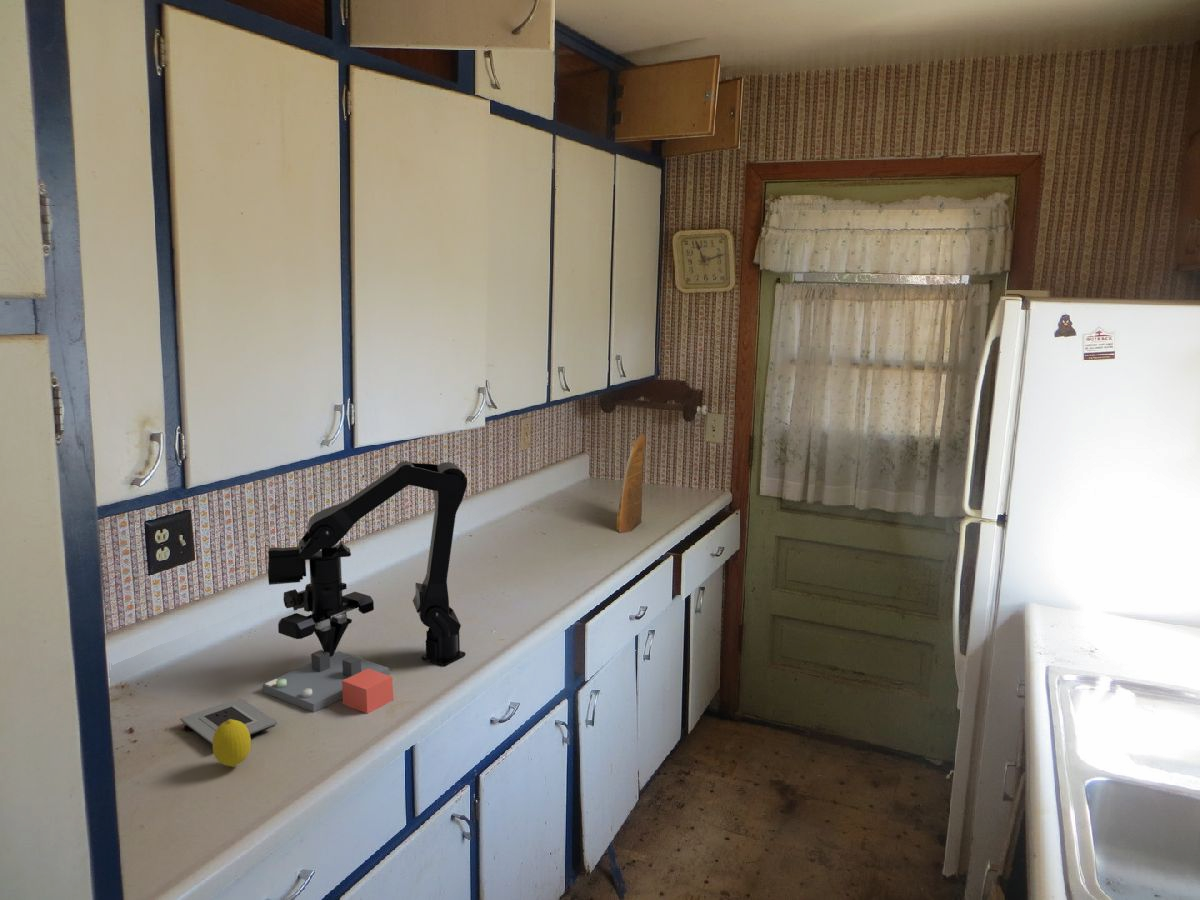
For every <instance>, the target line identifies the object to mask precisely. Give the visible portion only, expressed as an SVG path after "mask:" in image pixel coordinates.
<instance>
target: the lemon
mask: <svg viewBox="0 0 1200 900" xmlns="http://www.w3.org/2000/svg"><path fill="white" fill-rule="evenodd" d="M251 746H252V739H251V736H250V734H249V731H248V728H247V727H246V726H245V724H243V723H242V722H240V721H237V720H232V719H229V720H228V721H226V722H224V723H222V724H221V725H220V726H219V727H218V728H217V729H216V731H215V733H214V737H213V745H212V752H213V755H214V757H215V759H216V760H217V761H218V763H220V764H221V765H223V766H226V767H227V766H229V767H230V768H235V767H237V765H239V764H241V763H242V762H244V761H245V760H246V758H247V757H248V755H249V754H250V752H251V751H250V750H251Z"/></svg>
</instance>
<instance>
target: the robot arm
mask: <svg viewBox="0 0 1200 900" xmlns="http://www.w3.org/2000/svg"><path fill="white" fill-rule="evenodd" d="M408 486H413V487H418V488H422V489H426V490H430V491H433V492H432V493H433V501H434V502H433V503H434V514H433V522H432V530H431V538H430V544H429V551H428V552H429V553H428V558H427V559H428V561H427V568H426V574H425V578H424V579H423V582H422V583H419V582H415V584H414V585H415V588H414V589H415V595H414V597H413V599H412V603H413V606H414V609H415V611H416V613H417V614H418V616H419V619H420V622H421V623H422V624H423V625H424V626H426V627H428V629H427V630H426V634H425V635H426V639H425V654H424V653H423V654H422V655H421V657H420V658H421V659H422V660H425V661H428V662H431V663H434V664H438V665H440V666H444V667H445V666H448V665H449V663H450V664H451V663H454V662H455V661H457V660H459V659H461V658H463V657H465V656H466V652H465V651H462V650H461V649H460V646H461V645H460V642H461V641H460V629H461V627H462V624H461V623H460V621H459V618H458V617H457V615H456V613H455V610H454V609H453V608H452V607H450V597H449V589H448V574H449V568H450V567H449V566H450V560H451V552H452V544H453V537H454V528H455V524H456V516H457V512H458V510H459V509H460V506H461V505H462V502H463V501H464V500H463V499H464V496H465V493H466V490H467V486H468V478H467V476H466V474H465V473H464V472H463V471H462V469H461V468H460V467H459V466H458V465H457V464H456V463H454V462H451V461H444V462H442V463H440V464H436V463H429V462H428V463H427V462H426V463H424V462H411V461H409V460H404V461H403V460H402V461H400V462H397V464H396V466H394V467H393V468H392V469H390V470H389V471H387V472H386V473H385V474H383V475H381V476H380V477H379V478H377V479H375V480H374V481H373V482H371V483H370V484H368V485H367V486H366V487H365V488H363V489H362V490H360V491H358V492H357V493H356V494H354V495H353V496H350V498H349V499H347V500H345V501H343V502H340V503H337V504H335V505H331V506H329V507H327V508H325V509H322V510H320V511H318V512H316V513H314V514H313V515H312V516H311V517H309V520H308V523H307V531H306V532H305V533H304V535H303V536H302V538H301V539H300V540H299V542H298V544H297V545H298V546H291V547H269V548H268V551H267V552H268V555H267V556H268V564H267V575H268V576H267V577H268V579H267V580H268V586H269V585H270V586H272V585H274V586H275V585H284V584H295V583H301V580H304V577H307V566H306V565H307V564H306V563H307V562H306V561H309V562H308V563H309V580H310V581H309V582H310V583H308V584H305V589H303V590H301V591H297V589H291V590H287V591H285V592H283V604H284V607H285V608H286V609H291V608H293V611H297V610H299V609H303V611H304V612H308V613H309V612H311V614H308V615H304V614H301V613H298V612H295V613H292V614H290V615H287V616H284V617H282V618H281V619H280V620H279V621H278V623H277V625H278V626H277V628H278V633H279V634H281V635H284V636H286V637H290V638H292V639H295V640H302V639H303V638H307V637H309V636H312V635H313V634H315V636H316V638H317V639H318V641H319V643H320V644H321V647H322V650H323V651H326V652H329V653H330V657H332V656H333V655H334V653H336V651H337V648H338V646H339V644H340V642H341V639H342V637H343V635H344V634H345V632H346V630H347V629H348V627H349V625H350V624H351V623H352V622H353V619H351V618H348V615H347V613H348V612H350V611H352V610H356V609H358V612H360V614H363V615H365V614H369V613H370V612H373V611H374V610H375V608H374V607H375V606H374V605H375V604H374V599H373V598H372V597H371V595H368V594H365V593H362V592H357V591H352V592H350V593H346V594H345V595H343V591H345V590H347V589H348V588H347V583H345V582H343V580H342V579H343V578H342V576H343V575H342V558H346V557H351V555H352V553H351V548H350V547H348V546H346V545H345V544H344V542H343V541H341V540H342V539H343V538H344V537H345V536H346V535H347V534H348V533H349V532H350V530H351V529H352V528H353V526H354V525H355V524H356V523H357V522H359V520H361V519H362V518H363V517H365V516H366V515H367V514H369V513H370V512H372V511H373V510H375V509H376V508H377V507H380V505H382V504H384V503H385V502H386V501H387V500H389V499H391V498H392V497H393V496H395V495H397V493H399V492H400V491H402V490H404V489H405V488H406V487H408ZM447 664H448V665H447Z"/></svg>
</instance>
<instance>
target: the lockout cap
mask: <svg viewBox="0 0 1200 900" xmlns="http://www.w3.org/2000/svg"><path fill="white" fill-rule="evenodd" d="M393 686H394V684H393V676H392V675H391V676H390V674H389V675H386V674H383V673H380V672H377V671H374V670H371V669H366V670H364V671H362V672H360V673H357V674H355V675H353V676H351V677H349V678H347V679H345V680H343V681H342V692H343V698H342V705H345V706H347V707H349V708H352V709H354V710H357V711H360V712H363V713H365V714H369V713H371V712H373V711H375V710H377V709H379V708H381V707H382V706H384V705H386V704H388V703H390V702H392V701H393V700H394V687H393Z"/></svg>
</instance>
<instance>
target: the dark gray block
mask: <svg viewBox="0 0 1200 900" xmlns="http://www.w3.org/2000/svg"><path fill="white" fill-rule="evenodd" d="M310 657H311V658H310V659H311V663H312V669H314V670H317V671H320V672H321V671H323V670H325V669H327V668H330V653H329V652H326V651H324V650H323V649H319V650H317V651H314V652H313V653H310Z"/></svg>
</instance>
